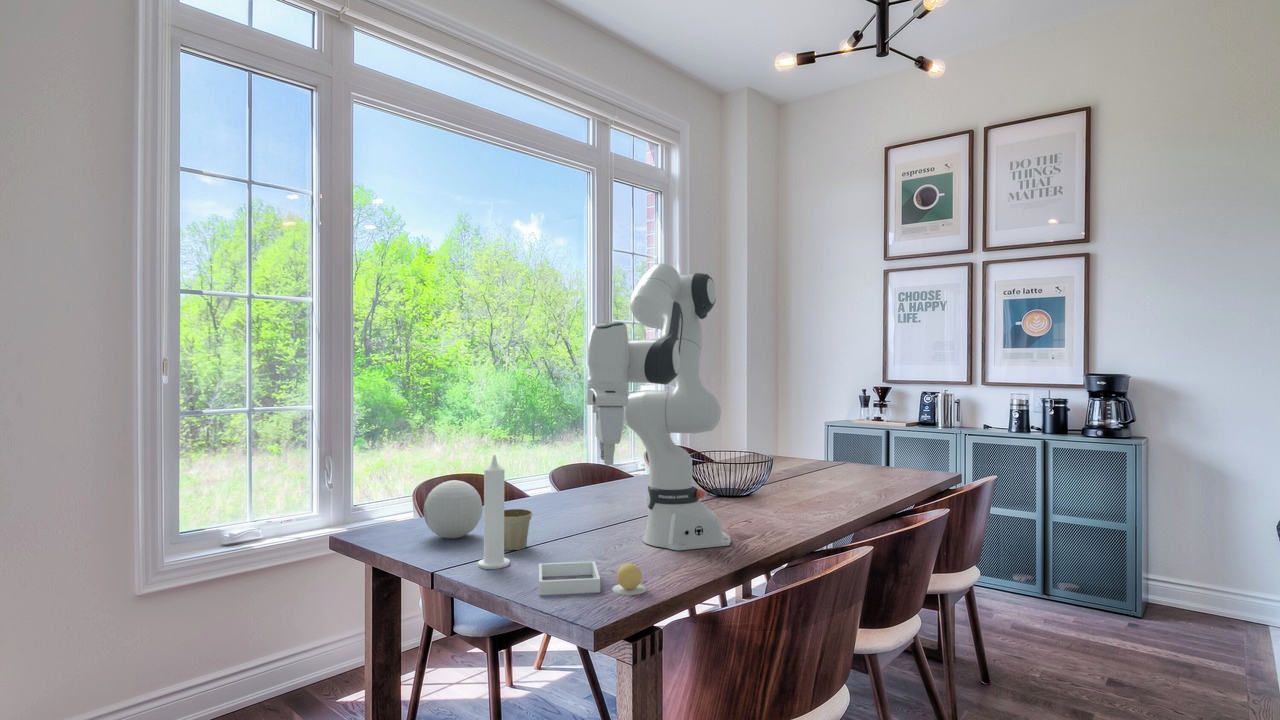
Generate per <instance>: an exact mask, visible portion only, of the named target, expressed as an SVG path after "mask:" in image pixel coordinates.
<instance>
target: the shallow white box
mask: <svg viewBox="0 0 1280 720" xmlns="http://www.w3.org/2000/svg"><path fill="white" fill-rule="evenodd" d="M587 575H588V576H590V575H592V577H591V578H573V579H572V578H569V579H567V578H566V579H548V580H545V579H544V580H543V578H548V577H569V576H570V577H571V576H572V577H573V576H587ZM538 592H539V594H538V595H539V596H549V595H551V596H553V595H571V594H572V595H574V594H575V595H576V594H589V593H590V594H591V593H601V576H600V574H599V571H598V567H597V564H596V561H595V560H594V561H593V560H591V561H575V562H574V561H571V562H550V563H549V562H547V563H538Z"/></svg>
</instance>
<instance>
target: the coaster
mask: <svg viewBox="0 0 1280 720" xmlns="http://www.w3.org/2000/svg"><path fill="white" fill-rule="evenodd" d="M611 591H612V592H614V593H615V594H618V595H622V596H623V595H624V596H625V595H626V596H634V595H641V594H643V593H646V592H647V587H646V585H643V584H641V583H640V584H639V585H638V586H637V587H636V588H634V589H625V588H623V587H622V586H621V585H620V584H619V583H618V584H615V585H614V586H613V587H612V588H611Z"/></svg>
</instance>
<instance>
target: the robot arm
mask: <svg viewBox="0 0 1280 720" xmlns="http://www.w3.org/2000/svg"><path fill="white" fill-rule="evenodd" d="M716 300H717V289H716V285H715V281H714V279H713V278H712V277H711V276H710V275H709V274H707V273H701V272H699V273H698V272H695V273H694V274H693V273H691V274H679V272H678V270H677V269H676V268H674V266H672V265H670V264H667V263H656V264H654V265H652V266H651V267H649V269H647V270H646V272H644V273H643V275H642V277H641V278H640V279H639V280H638V282H637V284H636V285H635V287H634V289H633V291H632V293H631V297H630V301H629V305H630V310H631V311H630V312H631V313H632V315H633V316H634V318H635V319H636V320H637V321H638V322H639V323H640V324H641V325H643V326H645V327H648V328H651V329H655V330H657V329H658V330H661V336H660V337H657V338H654V339H653V338H652V339H629V336H628V328H627V324H626V323H624V322H620V321H607V322H598V323H596V324H594V325H592V327H591V328H590V329H591V330H590V332H589V333H590V334H589V338H588V347H587V348H588V349H587V366H588V370H589V371H588V372H589V373H588V374H589V375H588V378H587V382H586V383H587V386H586V390H587V391H586V405H588V406H592V413H594V414H595V428H594V429H595V431H594V432H595V437H596V438H597V439H598V440H599V448H600V449H599V450H600V451H599V452H600V457H599V458H600V459H601V460H602V461H603V463H604V464H605V465H606V466H613V465H614V458H615V457H614V456H615V451H616V444H617V445H618V444H620V442H621V441H622V440H621V438H622V433H623V424H624V423H623V422H625V424H626V425H627V427H629V429H631V430H632V431H633V432H634V433H635V434H636V435H637V436H638V437H639V439H640V440H641V441H642V443H643V445H644V447H645V450H646V454H647V458H648V468H649V485H648V487H647V491H646V493H647V499H646V501H647V508H648V512H647V520H646V521H647V523H646V527H645V532H644V535H643V539H642V541H643V542H644V543H645V544H647V545H650V546H653V547H659V548H663V549H669V550H673V551H689V550H697V549H705V548H717V547H725V546H730V545H731V544H730V543H732V541H731V537H730V535H729V534H728V533H726V532H725V531H723V528H722V523H721V519H720V518H719V516H718V515H717V514H716V513H715V512H714V511H713V510H711V508H709V507H708V506H707V505H705V504H704V503H703V502H702V501H700V499H704V497H705V495H706V492H705V491H704V490H702V489H699V488H697V487H695V486H693V459H692V456H691V455H690V453H689V451H687V449H684V448H683V447H681V446H678V445H677V444H676V443H675V442H674V441H673V439H672V437H671V434H693V435H694V434H701V433H707V432H712V431H713V430H714V429H715V428H716V427H717V426H718V425H719V423H720V420H721V415H722V414H721V413H722V409H721V404H720V402H719V400H718V399H717V397H716V396H715V395H714V394H713V393H712V392H711V391H709V390H708V389H707V388H706V387H705V386H704V384H703V383H702V380H701V377H700V365H701V364H700V363H701V355H702V345H703V331H702V330H703V329H702V324H701V321H700V320H704V319H706V318H707V316H708V313H709V312H711V310H712V309H713V307H714V306H715V303H716ZM629 383H633V384H634V383H637V384H638V383H645V384H646V383H647V384H648V383H649V384H650V383H651V384H656V385H657V384H658V385H670V386H671V387H672V386H673V387H674V389H671V390H663V389H662V390H657V389H652V390H651V389H648V390H641V391H635V392H631V393H630V394H629Z"/></svg>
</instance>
